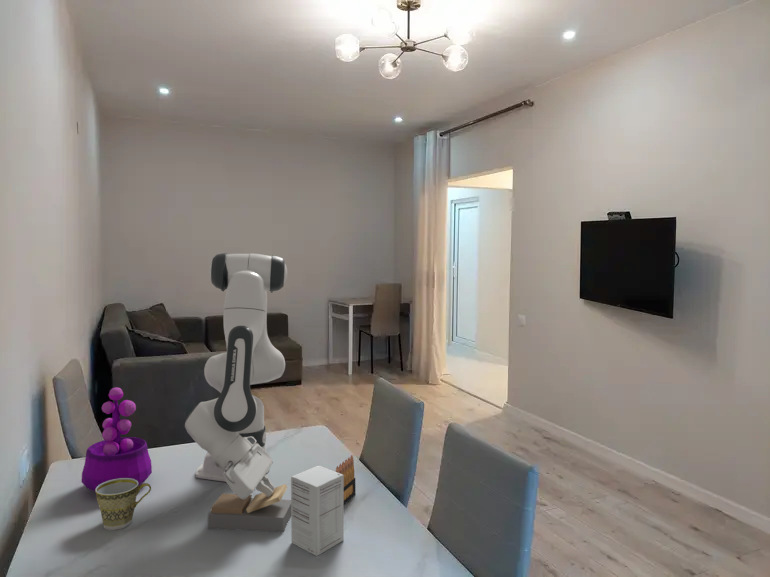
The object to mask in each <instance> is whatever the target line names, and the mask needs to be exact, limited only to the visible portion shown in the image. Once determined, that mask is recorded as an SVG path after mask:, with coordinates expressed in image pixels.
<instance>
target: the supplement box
mask: <svg viewBox="0 0 770 577" xmlns="http://www.w3.org/2000/svg"><path fill="white" fill-rule="evenodd" d="M290 488H291V489H290V498H291V499H290V500H291V517H290V520H291V522H290V523H291V524H290V525H291V526H290V528H291V534H290V535H291V544H293V545H295V546H296V547H299V548H300V549H302V550H304V551H306V552H308V553H310V554H312V555H313V556H315V557H318V556H319V555H321V554H323V553H324V552H326V551H328V550H329V549H331V548H333V547H334V546H337V545H338V544H340V543H341V542H343V541H344V538H345V537H344V534H345V533H344V523H345V522H344V521H345V520H344V518H345V517H344V514H345V513H344V509H345V508H344V506H345V505H344V475H343V474H340V473H337V472H336V470H335V471H334V470H331V469H330V468H327V467H323V466H322V465H316V466H313V467H311V468H309V469H306V470H303V471H301V472H300V473H297V474H294V475H292V476H291V477H290Z"/></svg>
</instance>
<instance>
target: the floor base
mask: <svg viewBox="0 0 770 577" xmlns="http://www.w3.org/2000/svg"><path fill="white" fill-rule="evenodd" d="M253 498H254V497H253V496H252V494H250V495H249V496H248V497H247V498H246V499H245V500H243V499H241V498H239V497H238V496H237V495H236V494H235V493H222V494H221V495H220V496H219V497H218V499H217V500H216V501H215V502H214V503H213V505H212V506H210V509H211V510H210V511H209V512H208V514H207V528H208V529H217V530H218V529H219V530H220V529H221V530H242V531H260V532H262V531H263V532H280V533H281V532H282V533H283V532H284V531H285V530H286V528H287V526H288V524H287V523H289V522H288V521H290V520H291V499H282V498H281V500H280V501H279V502H276V503H274V504H271V505H268V506H266V507H263V508H260V509H258V510H255V511H252V512H250V513H247V510H246V509H247V507H248V506H249V504H250V503H251V501H252V500H253Z"/></svg>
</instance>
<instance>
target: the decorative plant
mask: <svg viewBox="0 0 770 577" xmlns="http://www.w3.org/2000/svg"><path fill="white" fill-rule="evenodd" d="M108 397H109V400H108V401H106V402H104V403H103V404H102V406H101V411H102V412H103V413H105V414H106V415H110V414H111V413H112V415H111V416H112V417H107V418H105V419H104V420H103V422H102V425H101V426H102V428H103V431H102V433H101V435H102V438H103V440H101V441H100V440H99V441H97V442H95V443H93V444H91V445H89V447H88V448H86V451H85V452H86V453H85V458H84V460H85V461H84V466H83V468H82V472H81V483H82V484H83V485H84V486H85V488H86V489H88V490H89V491H91V492H95V489H96V487H97V486H98V485H100V484H102V483H104V482H106V481H109V480H113V479H119V478H131V479H135V480H137V481H138V483H139V484H138V486H140V485H141V484H144V483H146V482H145V481H147V479H148V478H149V477H150V475H151V474H152V473H153V471H152V469H153V468H152V467H153V466H152V459H151V455H150V454H149V449H148V444H147V441H146V440H145V439H143V438H140V437H135V436H134V437H132V436H123V435H127V434H128V433H129V431H130V430H131V427H132V422H131V421H130V420H129V419H127V418H121V416H123V417H130V416H131V415H133V414H134V413H135V411H136V410H137V406H136V403H135V402H134V401H133V400H129V399H125V400H122V402H120V403H118V401H119V400H121V399H122V398H123V397H124V392H123V389H122V388H120V387H112V388H111V389H110V390H109V393H108ZM110 400H111V401H110ZM113 401H114V402H113ZM121 435H122V436H121ZM95 493H96V492H95Z"/></svg>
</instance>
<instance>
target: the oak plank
mask: <svg viewBox="0 0 770 577" xmlns="http://www.w3.org/2000/svg"><path fill="white" fill-rule="evenodd" d="M287 489H288V486H287V484H286V483H284V484H282V485H278V486H277V487H275V490H274V492H273V494H272V495H271V496H270V497H267V496H266V495H265V494H264V493H263V492H260V493H257V494H256V495H255V496H254V497H252V498H253V500H252V501H251V503H250V504H249V506H248V507H247V509H246V510H247V513H250V512H252V511H255V510H258V509H260V508H263V507H266V506H268V505H271V504H274V503H276V502H279V501H280V500H281V499H282V498H283V496H284V494H285V492H286V491H287Z"/></svg>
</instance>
